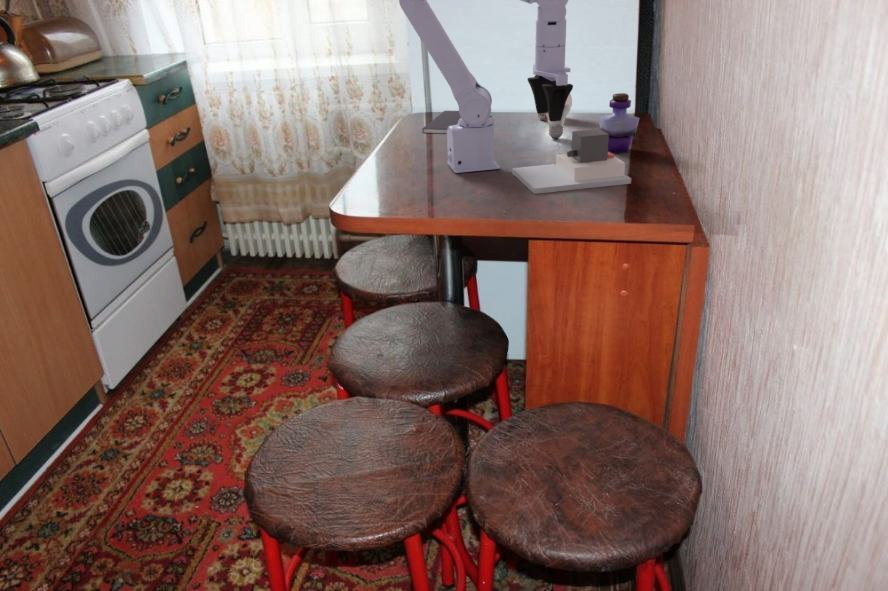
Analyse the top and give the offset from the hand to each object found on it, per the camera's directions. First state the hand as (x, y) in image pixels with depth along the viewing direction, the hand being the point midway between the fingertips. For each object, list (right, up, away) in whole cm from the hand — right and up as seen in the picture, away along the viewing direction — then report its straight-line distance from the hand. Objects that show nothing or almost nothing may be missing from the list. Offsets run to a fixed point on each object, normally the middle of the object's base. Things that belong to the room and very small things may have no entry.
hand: (548, 116), depth 144 cm
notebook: (-17, +8, +42) cm, 46 cm away
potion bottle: (+17, -4, +13) cm, 21 cm away
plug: (+7, -10, -5) cm, 13 cm away
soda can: (+7, +10, +42) cm, 44 cm away
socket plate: (+7, -12, -4) cm, 14 cm away
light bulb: (+5, +1, +24) cm, 24 cm away
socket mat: (+3, -13, -4) cm, 14 cm away
